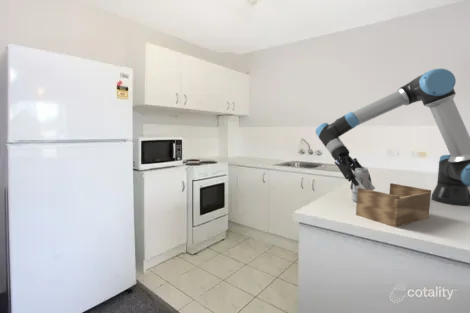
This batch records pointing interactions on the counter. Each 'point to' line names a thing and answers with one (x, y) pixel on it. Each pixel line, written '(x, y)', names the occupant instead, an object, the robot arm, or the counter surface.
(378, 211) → the oak crate
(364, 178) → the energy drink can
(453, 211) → the counter surface
